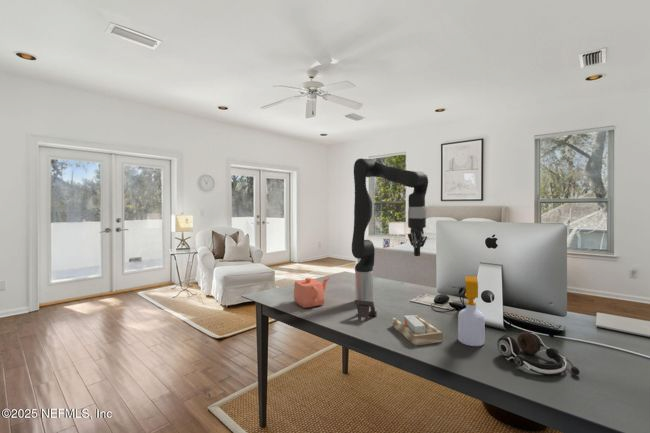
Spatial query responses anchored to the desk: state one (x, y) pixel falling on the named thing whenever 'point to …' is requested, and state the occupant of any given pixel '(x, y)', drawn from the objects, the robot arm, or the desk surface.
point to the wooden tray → (419, 339)
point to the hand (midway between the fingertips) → (417, 255)
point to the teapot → (309, 292)
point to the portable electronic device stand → (365, 309)
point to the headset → (532, 346)
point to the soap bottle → (471, 317)
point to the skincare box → (414, 324)
